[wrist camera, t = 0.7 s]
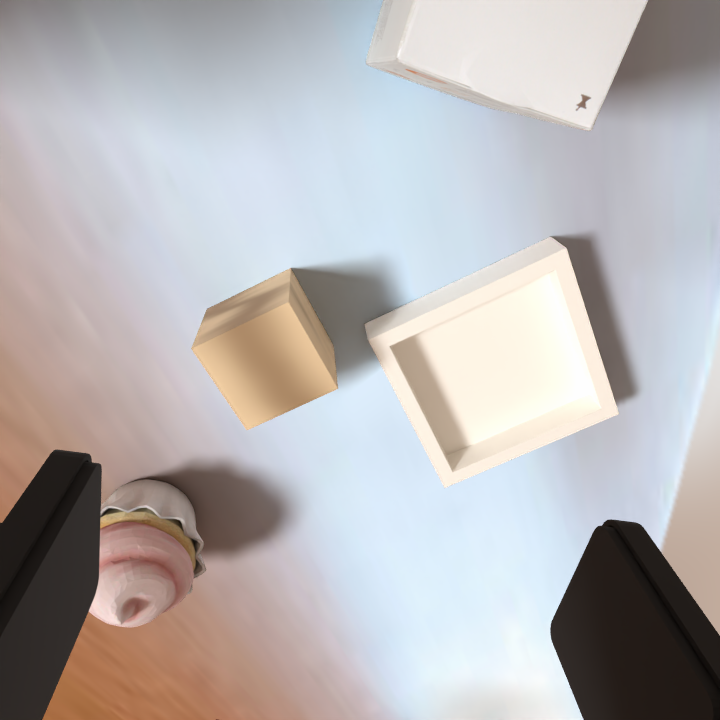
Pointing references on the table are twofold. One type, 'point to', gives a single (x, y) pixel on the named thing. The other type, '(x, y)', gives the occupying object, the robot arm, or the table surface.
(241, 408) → the cube
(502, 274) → the tray
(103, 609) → the cupcake
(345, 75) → the table surface
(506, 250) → the table surface
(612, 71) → the small box
